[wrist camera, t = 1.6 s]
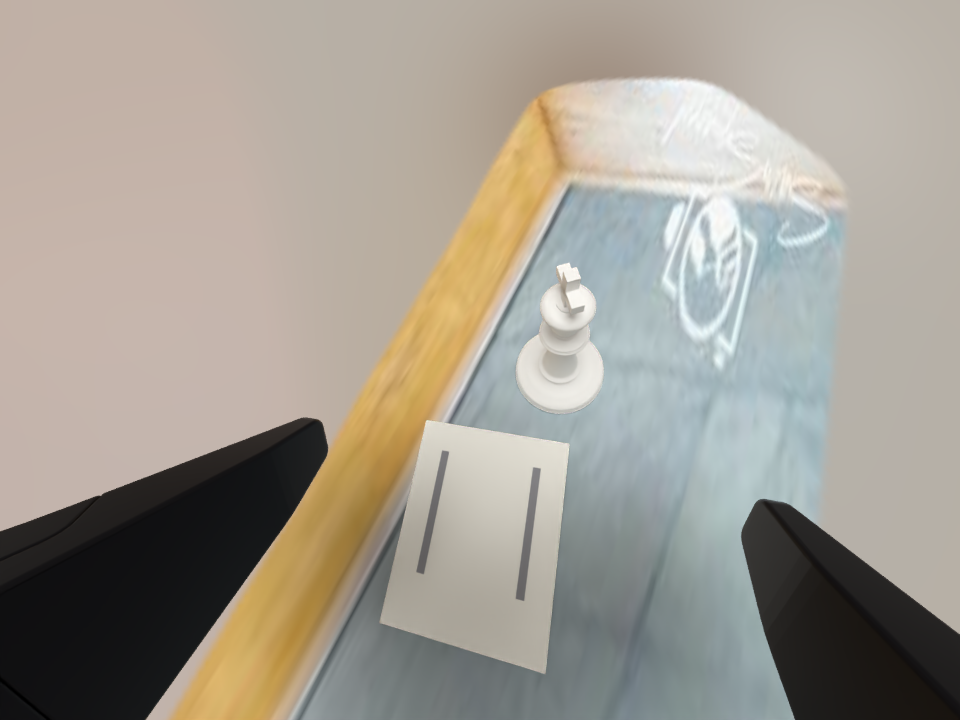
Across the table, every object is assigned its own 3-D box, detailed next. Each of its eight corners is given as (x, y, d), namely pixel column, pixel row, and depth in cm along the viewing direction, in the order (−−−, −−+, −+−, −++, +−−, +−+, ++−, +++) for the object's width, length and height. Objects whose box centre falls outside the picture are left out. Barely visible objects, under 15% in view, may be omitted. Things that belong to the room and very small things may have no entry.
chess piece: (587, 323, 21) (622, 193, 12) (616, 402, 19) (684, 322, 10) (507, 344, 21) (479, 235, 12) (528, 423, 20) (514, 366, 10)
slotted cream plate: (545, 669, 16) (545, 674, 15) (382, 619, 18) (378, 623, 17) (569, 444, 19) (569, 443, 18) (428, 421, 21) (426, 419, 20)
